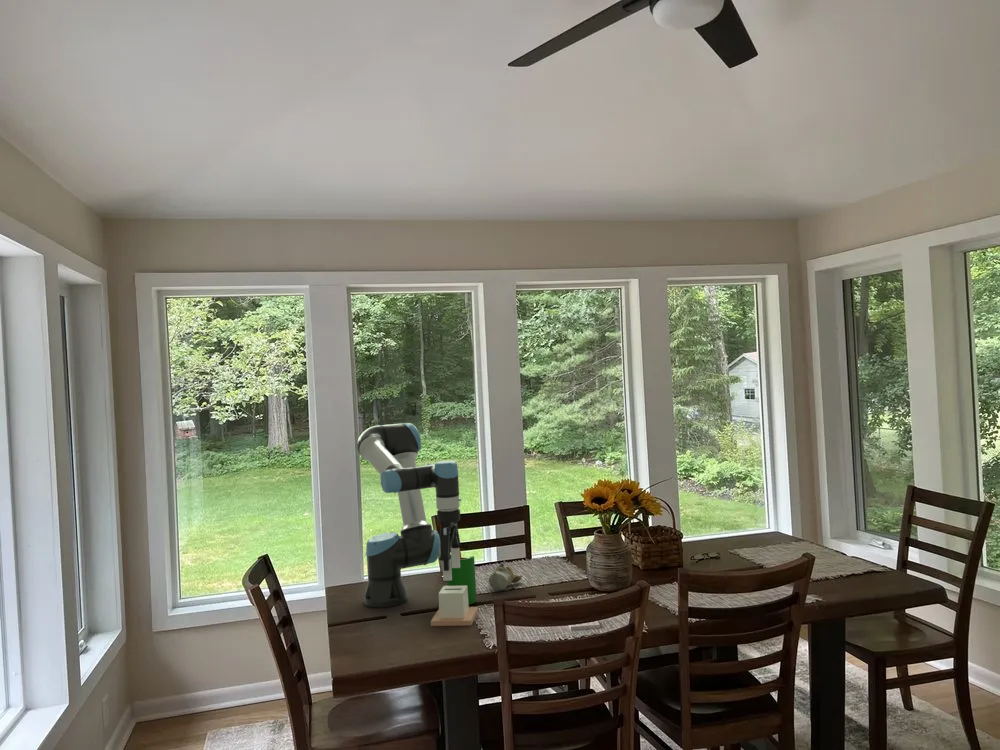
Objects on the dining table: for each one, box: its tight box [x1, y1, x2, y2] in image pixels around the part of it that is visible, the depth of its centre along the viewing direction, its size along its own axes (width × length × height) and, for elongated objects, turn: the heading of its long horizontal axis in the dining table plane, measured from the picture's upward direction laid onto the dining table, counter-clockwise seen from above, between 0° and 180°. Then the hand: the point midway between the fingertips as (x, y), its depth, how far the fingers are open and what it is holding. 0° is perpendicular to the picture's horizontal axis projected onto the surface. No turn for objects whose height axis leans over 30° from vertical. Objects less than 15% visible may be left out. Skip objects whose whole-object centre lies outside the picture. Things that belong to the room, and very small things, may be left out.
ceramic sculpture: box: [488, 563, 523, 591], centre depth 265 cm, size 11×9×15 cm
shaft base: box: [430, 606, 479, 627], centre depth 233 cm, size 13×13×6 cm
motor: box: [446, 547, 478, 605], centre depth 250 cm, size 10×9×20 cm
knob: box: [437, 585, 470, 618], centre depth 233 cm, size 8×8×8 cm
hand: (451, 573), depth 233 cm, fingers open, 13 cm apart
